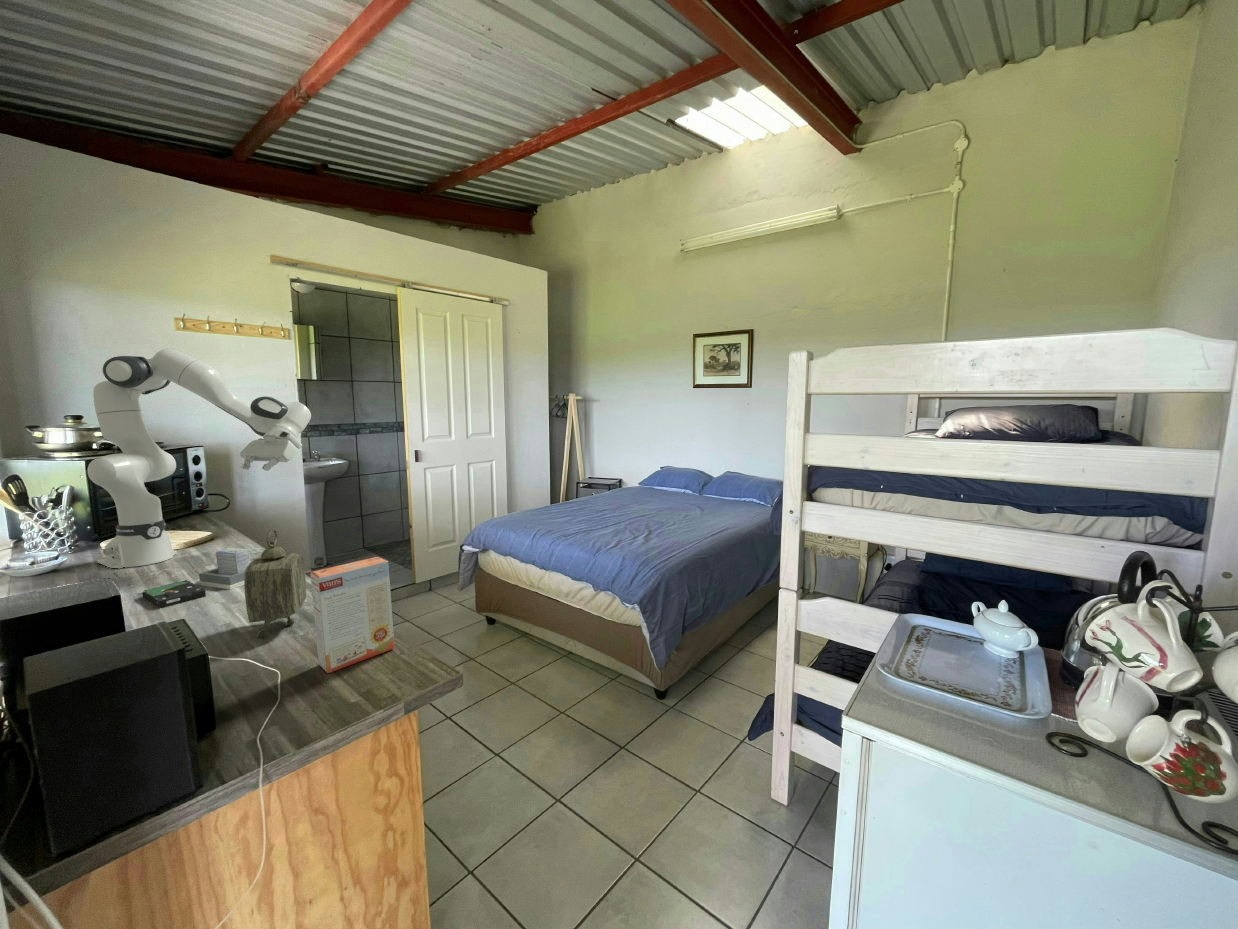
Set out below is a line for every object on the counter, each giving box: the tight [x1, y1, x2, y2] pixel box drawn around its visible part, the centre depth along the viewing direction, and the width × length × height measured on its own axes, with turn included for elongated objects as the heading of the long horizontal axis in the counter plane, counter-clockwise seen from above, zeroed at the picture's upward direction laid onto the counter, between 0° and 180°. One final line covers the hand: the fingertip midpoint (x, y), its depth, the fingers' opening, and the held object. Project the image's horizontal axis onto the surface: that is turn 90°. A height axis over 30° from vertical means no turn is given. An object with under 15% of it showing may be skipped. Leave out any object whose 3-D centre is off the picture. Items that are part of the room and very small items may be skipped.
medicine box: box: [215, 547, 251, 576], centre depth 153 cm, size 8×4×9 cm, turn 78°
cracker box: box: [310, 556, 395, 674], centre depth 105 cm, size 14×6×21 cm, turn 138°
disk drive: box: [141, 579, 207, 609], centre depth 140 cm, size 10×3×15 cm
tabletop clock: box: [243, 528, 307, 639], centre depth 120 cm, size 14×9×25 cm, turn 21°
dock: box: [195, 561, 252, 590], centre depth 154 cm, size 14×14×4 cm
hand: (254, 469), depth 169 cm, fingers open, 8 cm apart
